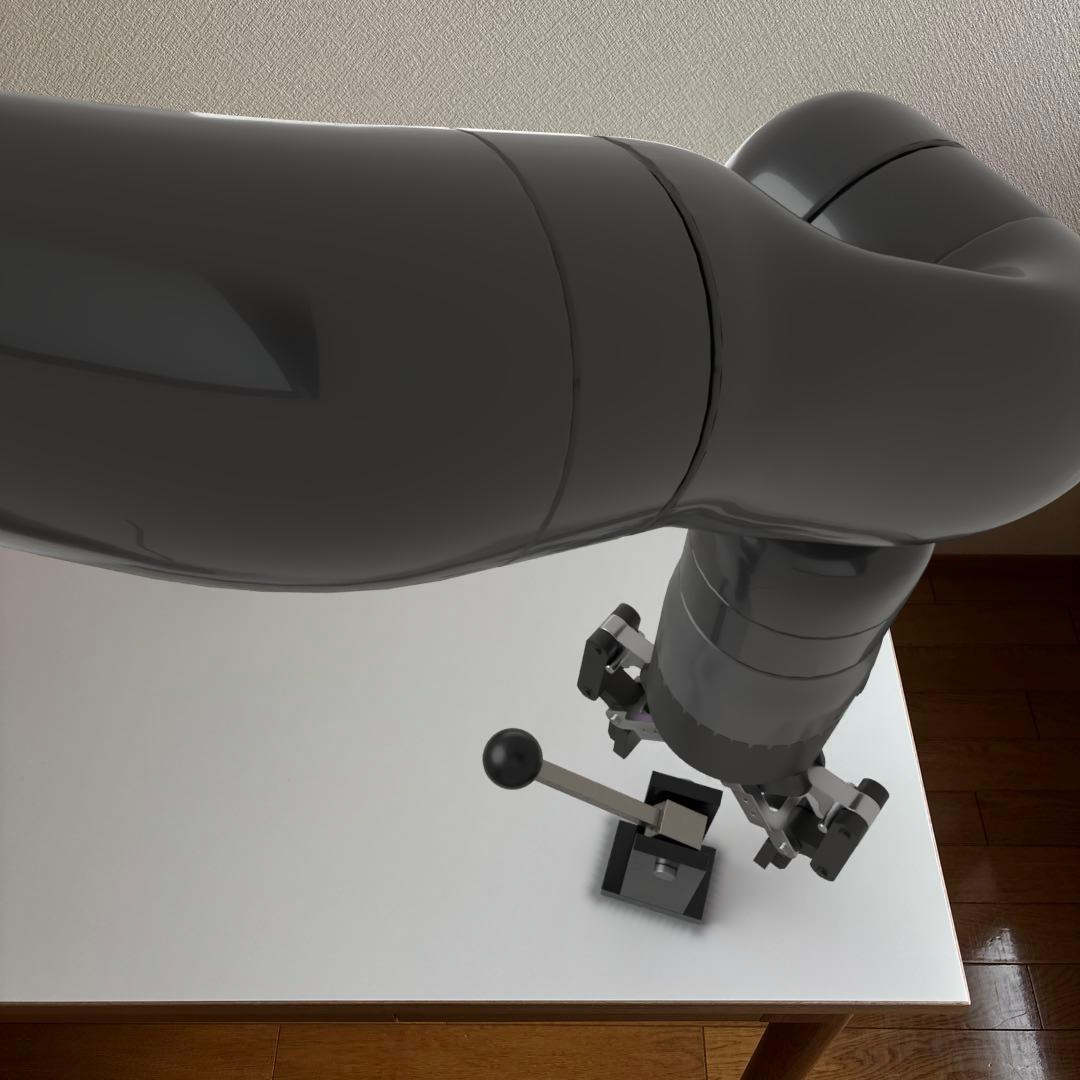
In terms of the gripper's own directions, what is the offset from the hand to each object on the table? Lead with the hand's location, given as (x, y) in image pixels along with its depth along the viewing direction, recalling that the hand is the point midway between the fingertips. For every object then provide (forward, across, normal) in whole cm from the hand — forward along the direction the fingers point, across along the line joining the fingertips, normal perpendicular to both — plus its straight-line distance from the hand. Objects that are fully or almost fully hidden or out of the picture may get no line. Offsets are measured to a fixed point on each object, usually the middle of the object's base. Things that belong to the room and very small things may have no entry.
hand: (698, 795), depth 50 cm
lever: (+11, -6, -1) cm, 13 cm away
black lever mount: (+23, -1, +2) cm, 23 cm away
